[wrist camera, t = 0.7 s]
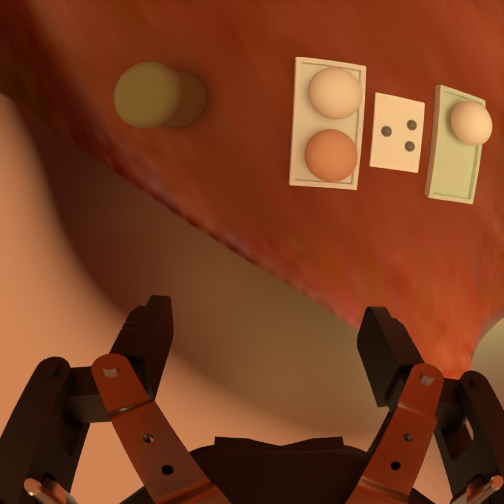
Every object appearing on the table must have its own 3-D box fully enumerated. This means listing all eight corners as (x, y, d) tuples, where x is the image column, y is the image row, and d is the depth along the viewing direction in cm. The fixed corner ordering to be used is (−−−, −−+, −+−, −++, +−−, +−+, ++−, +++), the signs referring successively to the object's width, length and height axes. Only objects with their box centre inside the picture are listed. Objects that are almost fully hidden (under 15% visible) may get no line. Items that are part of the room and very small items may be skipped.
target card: (373, 92, 28) (378, 92, 27) (422, 103, 28) (427, 103, 27) (368, 165, 31) (371, 167, 30) (415, 171, 31) (420, 174, 30)
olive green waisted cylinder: (211, 73, 27) (189, 54, 17) (201, 131, 30) (175, 139, 20) (154, 69, 27) (108, 53, 17) (145, 125, 30) (97, 133, 20)
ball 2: (302, 125, 29) (311, 128, 25) (351, 130, 29) (367, 134, 25) (299, 174, 31) (307, 185, 27) (346, 178, 31) (361, 189, 27)
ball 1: (305, 68, 27) (314, 60, 22) (354, 74, 27) (371, 68, 22) (303, 116, 29) (311, 116, 24) (351, 121, 29) (368, 123, 24)
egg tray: (294, 58, 27) (296, 56, 26) (362, 67, 27) (366, 66, 26) (288, 182, 32) (289, 185, 31) (353, 187, 32) (356, 189, 31)
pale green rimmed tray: (435, 85, 27) (440, 84, 26) (479, 100, 27) (485, 100, 26) (423, 194, 32) (428, 197, 31) (467, 201, 32) (472, 204, 31)
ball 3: (444, 95, 27) (469, 95, 22) (475, 106, 27) (502, 108, 22) (440, 137, 29) (465, 143, 24) (472, 145, 29) (498, 153, 24)
